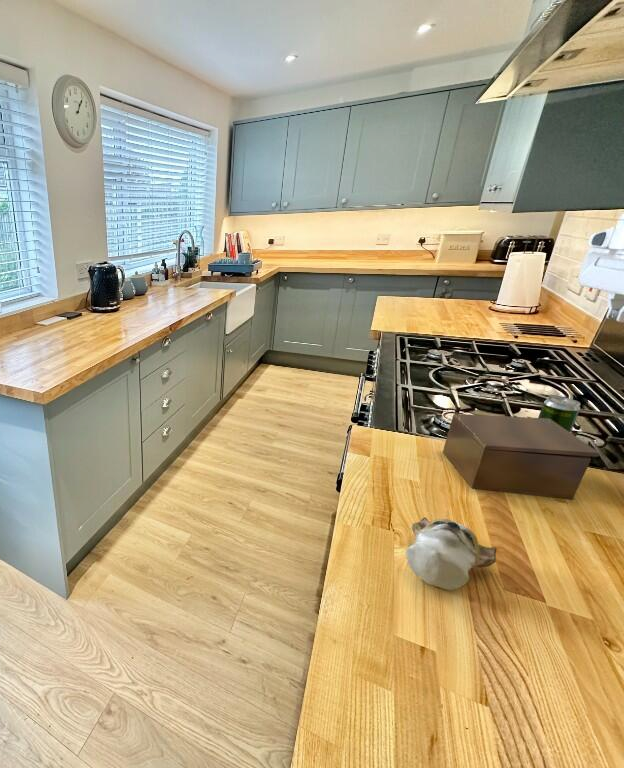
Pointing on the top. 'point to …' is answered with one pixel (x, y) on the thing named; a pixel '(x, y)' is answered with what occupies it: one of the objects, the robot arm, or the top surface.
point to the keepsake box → (513, 467)
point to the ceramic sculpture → (446, 553)
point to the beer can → (560, 411)
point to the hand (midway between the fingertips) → (617, 320)
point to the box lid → (523, 435)
